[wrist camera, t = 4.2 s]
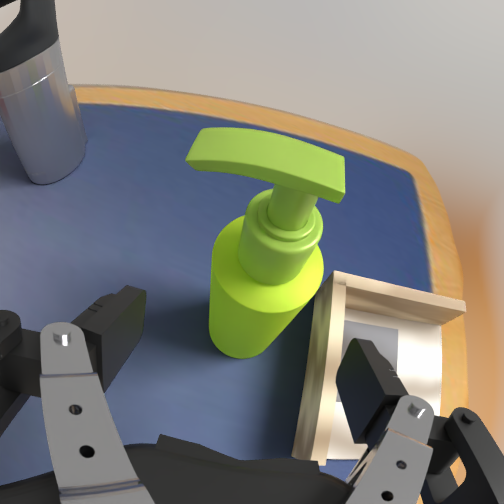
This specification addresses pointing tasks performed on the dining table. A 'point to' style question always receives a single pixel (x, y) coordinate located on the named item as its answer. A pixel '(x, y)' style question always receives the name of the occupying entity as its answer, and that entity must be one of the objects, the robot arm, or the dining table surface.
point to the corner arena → (387, 343)
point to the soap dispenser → (266, 234)
